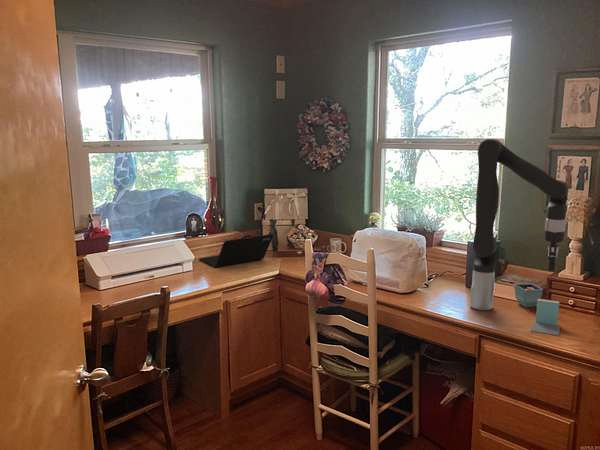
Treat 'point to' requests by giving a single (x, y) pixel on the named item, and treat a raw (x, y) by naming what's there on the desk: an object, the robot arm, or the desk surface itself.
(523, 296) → the flower pot
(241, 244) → the laptop
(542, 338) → the desk surface
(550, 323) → the tile
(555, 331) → the mat
